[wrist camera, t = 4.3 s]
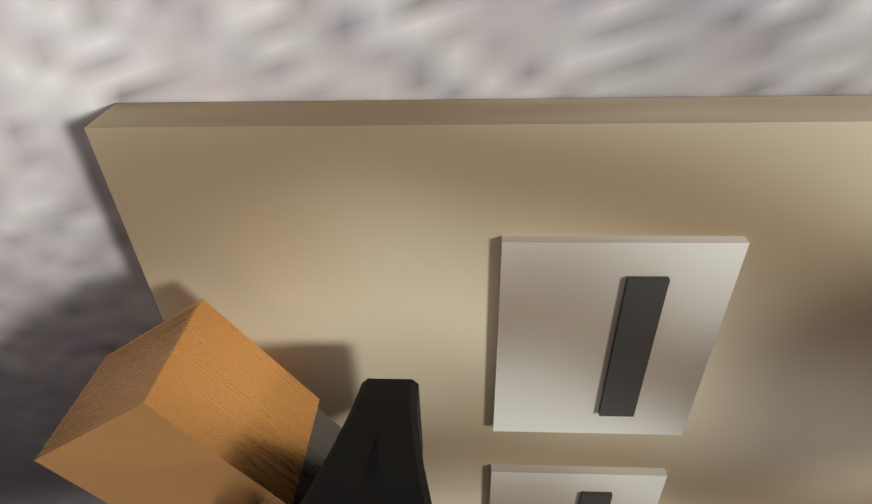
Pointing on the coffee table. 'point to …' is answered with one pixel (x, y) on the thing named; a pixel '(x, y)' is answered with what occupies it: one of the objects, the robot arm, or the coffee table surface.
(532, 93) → the coffee table surface
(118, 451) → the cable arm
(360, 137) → the label board
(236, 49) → the coffee table surface
